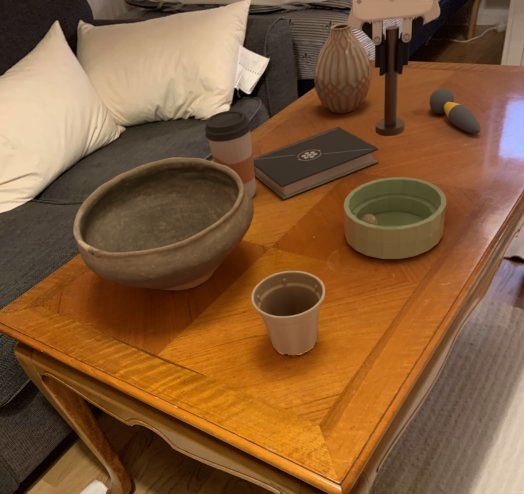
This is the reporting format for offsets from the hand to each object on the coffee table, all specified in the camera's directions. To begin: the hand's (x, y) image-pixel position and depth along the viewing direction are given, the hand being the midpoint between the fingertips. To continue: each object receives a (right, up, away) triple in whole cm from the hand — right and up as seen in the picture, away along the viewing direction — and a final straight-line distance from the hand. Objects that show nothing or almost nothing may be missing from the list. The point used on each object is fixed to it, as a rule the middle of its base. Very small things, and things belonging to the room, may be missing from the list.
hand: (391, 70), depth 74 cm
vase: (+1, +18, +51) cm, 55 cm away
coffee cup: (-23, -9, +29) cm, 38 cm away
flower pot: (-14, -39, -2) cm, 41 cm away
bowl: (-32, -27, +13) cm, 44 cm away
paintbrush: (+23, +9, +38) cm, 45 cm away
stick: (+1, -6, +6) cm, 9 cm away
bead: (-1, -20, +12) cm, 24 cm away
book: (-8, -3, +32) cm, 33 cm away
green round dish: (+3, -21, +12) cm, 24 cm away
